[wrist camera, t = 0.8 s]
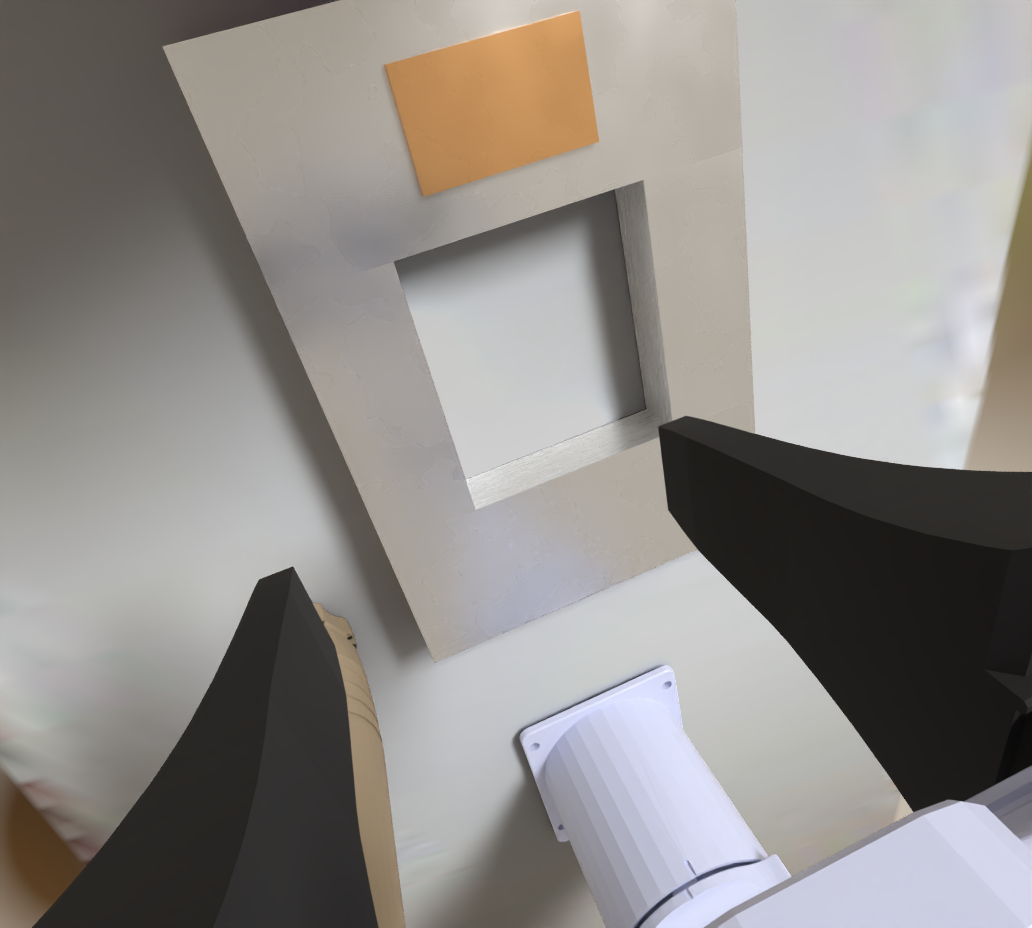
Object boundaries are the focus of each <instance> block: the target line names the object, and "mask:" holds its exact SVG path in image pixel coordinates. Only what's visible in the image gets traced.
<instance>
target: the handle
mask: <svg viewBox="0 0 1032 928" xmlns="http://www.w3.org/2000/svg"><path fill="white" fill-rule="evenodd" d="M313 605H314V607H315V609H316V611H317V613H318V614H319V616H320V618H321V620H322V622H323V624H324V626H325V628H326V629H327V631H328V633H329V635H330V637H331V639H332V641H333V643H334V645H335V647H336V652H337V656H338V660H339V664H340V669H341V673H342V677H343V682H344V687H345V691H346V697H347V707H348V717H349V728H350V738H351V750H352V761H353V772H354V783H355V795H356V806H357V815H358V823H359V830H360V837H361V843H362V848H363V853H364V858H365V863H366V868H367V873H368V878H369V884H370V889H371V894H372V898H373V903H374V908H375V913H376V917H377V922H378V927H379V928H406V926H405V918H404V910H403V903H402V895H401V887H400V879H399V872H398V864H397V856H396V849H395V840H394V832H393V824H392V815H391V807H390V799H389V790H388V782H387V774H386V765H385V757H384V749H383V745H382V740H381V735H380V730H379V725H378V721H377V716H376V712H375V707H374V703H373V699H372V696H371V692H370V688H369V685H368V681H367V677H366V674H365V671H364V668H363V665H362V663H361V660H360V658H359V656H358V654H357V651H356V648H357V644H356V640H355V637H354V634H353V631H352V629H351V627H350V625H349V623H348V621H347V620H346V619H345V618H343V617H337V616H334V615H332V614H330V613H328V612H327V611H325V609H324V608H323V607H322V605H321V604H318V603H313Z"/></svg>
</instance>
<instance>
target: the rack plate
mask: <svg viewBox="0 0 1032 928" xmlns="http://www.w3.org/2000/svg"><path fill="white" fill-rule="evenodd" d="M162 47H163V49H164V52H165V54H166V56H167V58H168V61H169V63H170V65H171V68H172V70H173V72H174V74H175V77H176V79H177V81H178V83H179V86H180V88H181V90H182V92H183V95H184V97H185V99H186V101H187V104H188V106H189V108H190V111H191V113H192V115H193V117H194V120H195V122H196V124H197V126H198V129H199V131H200V133H201V135H202V138H203V140H204V142H205V144H206V147H207V149H208V151H209V154H210V156H211V158H212V160H213V163H214V165H215V167H216V169H217V172H218V174H219V176H220V178H221V181H222V183H223V185H224V187H225V190H226V192H227V194H228V197H229V199H230V201H231V203H232V206H233V208H234V210H235V212H236V215H237V217H238V219H239V221H240V224H241V226H242V228H243V230H244V233H245V235H246V237H247V240H248V242H249V244H250V246H251V249H252V251H253V253H254V255H255V258H256V260H257V262H258V264H259V267H260V269H261V271H262V273H263V276H264V278H265V280H266V283H267V285H268V287H269V289H270V292H271V294H272V296H273V298H274V301H275V303H276V305H277V307H278V310H279V312H280V314H281V316H282V319H283V321H284V323H285V326H286V328H287V330H288V332H289V335H290V337H291V339H292V341H293V344H294V346H295V348H296V350H297V353H298V355H299V357H300V359H301V362H302V364H303V366H304V369H305V371H306V373H307V375H308V378H309V380H310V382H311V384H312V387H313V389H314V391H315V393H316V396H317V398H318V400H319V402H320V405H321V407H322V409H323V412H324V414H325V416H326V418H327V421H328V423H329V425H330V427H331V430H332V432H333V434H334V436H335V439H336V441H337V443H338V445H339V448H340V450H341V452H342V455H343V457H344V459H345V461H346V464H347V466H348V468H349V470H350V473H351V475H352V477H353V479H354V482H355V484H356V486H357V488H358V491H359V493H360V495H361V498H362V500H363V502H364V504H365V507H366V509H367V511H368V513H369V516H370V518H371V520H372V522H373V525H374V527H375V529H376V531H377V534H378V536H379V538H380V541H381V543H382V545H383V547H384V550H385V552H386V554H387V556H388V559H389V561H390V563H391V565H392V568H393V570H394V572H395V574H396V577H397V579H398V581H399V584H400V586H401V588H402V590H403V593H404V595H405V597H406V599H407V602H408V604H409V606H410V608H411V611H412V613H413V615H414V617H415V620H416V622H417V624H418V627H419V629H420V631H421V633H422V636H423V638H424V640H425V642H426V645H427V647H428V649H429V651H430V654H431V656H432V658H433V660H434V663H435V662H438V661H440V660H442V659H445V658H447V657H449V656H451V655H454V654H456V653H458V652H461V651H463V650H465V649H468V648H470V647H472V646H475V645H477V644H479V643H481V642H484V641H486V640H488V639H491V638H493V637H495V636H498V635H500V634H502V633H505V632H507V631H509V630H512V629H514V628H516V627H518V626H521V625H523V624H525V623H528V622H530V621H532V620H535V619H537V618H539V617H542V616H544V615H546V614H549V613H551V612H553V611H555V610H558V609H560V608H562V607H565V606H567V605H569V604H572V603H574V602H576V601H579V600H581V599H583V598H585V597H588V596H590V595H592V594H595V593H597V592H599V591H602V590H604V589H606V588H609V587H611V586H613V585H616V584H618V583H620V582H622V581H625V580H627V579H629V578H632V577H634V576H636V575H639V574H641V573H643V572H646V571H648V570H650V569H653V568H655V567H657V566H659V565H662V564H664V563H666V562H669V561H671V560H673V559H676V558H678V557H680V556H683V555H685V554H687V553H690V552H692V551H694V550H696V549H697V548H696V547H695V546H694V544H693V543H692V542H691V541H690V539H689V538H688V537H687V535H686V534H685V533H684V531H683V530H682V529H681V527H680V526H679V525H678V523H677V522H676V520H675V519H674V518H673V516H672V515H671V513H670V512H669V511H668V505H667V497H666V489H665V481H664V472H663V464H662V456H661V448H660V439H659V431H658V426H660V425H663V424H666V423H668V422H671V421H673V420H676V419H679V418H681V417H684V416H690V417H695V418H699V419H703V420H707V421H711V422H715V423H718V424H722V425H726V426H729V427H733V428H736V429H740V430H743V431H747V432H750V433H754V434H755V421H754V398H753V376H752V353H751V331H750V308H749V286H748V263H747V241H746V218H745V196H744V173H743V151H742V128H741V106H740V83H739V61H738V38H737V16H736V0H339V1H335V2H331V3H328V4H324V5H320V6H316V7H312V8H308V9H305V10H301V11H297V12H293V13H289V14H285V15H281V16H278V17H274V18H270V19H266V20H262V21H258V22H254V23H251V24H247V25H243V26H239V27H235V28H231V29H227V30H224V31H220V32H216V33H212V34H208V35H204V36H200V37H197V38H193V39H189V40H185V41H181V42H177V43H173V44H170V45H166V46H162ZM614 189H615V194H616V201H617V208H618V215H619V222H620V229H621V236H622V243H623V250H624V257H625V264H626V271H627V277H628V284H629V291H630V298H631V305H632V312H633V319H634V326H635V333H636V340H637V347H638V354H639V361H640V368H641V375H642V382H643V389H644V396H645V403H646V410H643V411H641V412H638V413H635V414H633V415H630V416H628V417H625V418H623V419H620V420H617V421H615V422H612V423H610V424H607V425H605V426H602V427H599V428H597V429H594V430H592V431H589V432H587V433H584V434H581V435H579V436H576V437H574V438H571V439H569V440H566V441H563V442H561V443H558V444H556V445H553V446H551V447H548V448H546V449H543V450H540V451H538V452H535V453H533V454H530V455H528V456H525V457H522V458H520V459H517V460H515V461H512V462H510V463H507V464H504V465H502V466H499V467H497V468H494V469H492V470H489V471H486V472H484V473H481V474H479V475H476V476H474V477H471V478H468V479H465V476H464V473H463V470H462V467H461V464H460V461H459V458H458V455H457V452H456V449H455V446H454V443H453V440H452V437H451V434H450V431H449V428H448V425H447V422H446V419H445V416H444V413H443V410H442V407H441V404H440V400H439V397H438V394H437V391H436V388H435V385H434V382H433V379H432V376H431V373H430V370H429V367H428V364H427V361H426V358H425V355H424V352H423V349H422V346H421V343H420V340H419V337H418V334H417V331H416V328H415V325H414V322H413V319H412V316H411V313H410V310H409V307H408V304H407V301H406V298H405V295H404V292H403V289H402V286H401V283H400V280H399V277H398V274H397V271H396V268H395V265H394V261H397V260H400V259H403V258H406V257H409V256H412V255H415V254H419V253H422V252H425V251H428V250H431V249H434V248H437V247H440V246H443V245H446V244H449V243H452V242H455V241H458V240H461V239H464V238H467V237H470V236H473V235H476V234H479V233H483V232H486V231H489V230H492V229H495V228H498V227H501V226H504V225H507V224H510V223H513V222H516V221H519V220H522V219H525V218H528V217H531V216H534V215H537V214H540V213H543V212H547V211H550V210H553V209H556V208H559V207H562V206H565V205H568V204H571V203H574V202H577V201H580V200H583V199H586V198H589V197H592V196H595V195H598V194H601V193H604V192H607V191H611V190H614Z"/></svg>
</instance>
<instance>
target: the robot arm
mask: <svg viewBox="0 0 1032 928" xmlns="http://www.w3.org/2000/svg"><path fill="white" fill-rule="evenodd" d="M658 431H659V439H660V448H661V456H662V464H663V472H664V481H665V489H666V497H667V505H668V511H669V512H670V513H671V515H672V516H673V518H674V519H675V520H676V522H677V523H678V525H679V526H680V527H681V529H682V530H683V531H684V533H685V534H686V535H687V537H688V538H689V539H690V541H691V542H692V543H693V544H694V546H695V547H696V548H697V549H698V550H699V551H700V552H701V553H702V554H703V556H704V557H705V558H706V559H707V560H708V561H709V562H710V563H711V564H712V565H713V566H714V567H715V568H716V569H717V570H718V571H719V572H720V573H721V574H722V575H723V576H724V577H725V578H726V579H727V580H728V581H729V582H730V583H731V584H732V585H733V586H734V587H735V588H736V589H737V590H738V591H739V592H740V593H741V594H742V595H743V596H744V597H745V598H746V599H747V600H748V601H749V602H750V603H751V604H752V605H753V606H754V607H755V608H756V609H757V610H758V611H759V612H760V613H761V614H762V615H763V616H764V617H765V618H766V619H767V620H768V621H769V622H770V623H771V624H772V625H773V626H774V627H775V628H776V630H777V631H778V632H779V633H780V634H781V635H782V636H783V637H784V638H785V639H786V640H787V642H788V643H789V644H790V645H791V647H792V648H793V649H794V650H795V652H796V653H797V654H798V655H799V657H800V658H801V659H802V660H803V661H804V663H805V664H806V665H807V666H808V668H809V669H810V670H811V671H812V673H813V674H814V675H815V676H816V678H817V679H818V680H819V681H820V683H821V684H822V685H823V687H824V688H825V689H826V691H827V692H828V693H829V695H830V696H831V697H832V699H833V700H834V701H835V702H836V704H837V705H838V706H839V708H840V709H841V710H842V712H843V713H844V714H845V716H846V717H847V718H848V720H849V721H850V722H851V723H852V725H853V726H854V728H855V729H856V730H857V732H858V733H859V735H860V736H861V737H862V739H863V740H864V742H865V743H866V744H867V746H868V747H869V749H870V750H871V751H872V753H873V754H874V756H875V757H876V758H877V760H878V761H879V763H880V764H881V765H882V767H883V768H884V769H885V771H886V772H887V774H888V775H889V777H890V778H891V779H892V781H893V782H894V784H895V785H896V787H897V788H898V790H899V791H900V793H901V794H902V796H903V797H904V799H905V800H906V802H907V803H908V805H909V806H910V808H911V809H912V811H913V813H911V814H910V815H908V816H906V817H904V818H902V819H900V820H898V821H896V822H894V823H892V824H890V825H889V826H887V827H885V828H883V829H881V830H879V831H877V832H875V833H873V834H872V835H870V836H868V837H866V838H864V839H862V840H860V841H858V842H856V843H855V844H853V845H851V846H849V847H847V848H845V849H843V850H841V851H839V852H838V853H836V854H834V855H832V856H830V857H828V858H826V859H824V860H822V861H820V862H819V863H817V864H815V865H813V866H811V867H809V868H807V869H805V870H802V871H800V872H799V873H797V874H795V875H794V876H791V875H790V873H789V872H788V870H787V869H786V868H785V866H784V865H783V863H782V862H781V860H780V859H779V857H778V856H777V855H776V854H773V855H771V856H770V857H768V855H767V854H766V852H765V851H764V849H763V848H762V846H761V845H760V843H759V842H758V840H757V839H756V837H755V836H754V834H753V833H752V831H751V830H750V828H749V827H748V826H747V824H746V823H745V821H744V820H743V818H742V817H741V815H740V814H739V812H738V811H737V809H736V808H735V806H734V805H733V803H732V802H731V800H730V799H729V797H728V796H727V794H726V793H725V791H724V790H723V788H722V787H721V785H720V784H719V783H718V781H717V780H716V778H715V777H714V775H713V774H712V772H711V771H710V769H709V768H708V766H707V765H706V763H705V762H704V760H703V759H702V757H701V756H700V754H699V753H698V751H697V750H696V748H695V747H694V745H693V744H692V742H691V741H690V740H689V738H688V737H687V735H686V734H685V732H684V731H683V724H682V718H681V712H680V705H679V699H678V692H677V686H676V679H675V673H674V671H673V670H672V669H671V667H669V666H661V667H659V668H657V669H654V670H652V671H650V672H648V673H646V674H644V675H641V676H639V677H637V678H635V679H633V680H631V681H628V682H626V683H624V684H622V685H620V686H618V687H615V688H613V689H611V690H609V691H607V692H604V693H602V694H600V695H598V696H596V697H594V698H591V699H589V700H587V701H585V702H583V703H581V704H578V705H576V706H574V707H572V708H570V709H568V710H565V711H563V712H561V713H559V714H557V715H554V716H552V717H550V718H548V719H546V720H544V721H541V722H539V723H537V724H535V725H533V726H531V727H528V728H526V729H525V730H523V732H522V733H521V734H520V741H521V744H522V747H523V749H524V752H525V755H526V757H527V760H528V763H529V765H530V768H531V771H532V774H533V776H534V779H535V782H536V784H537V787H538V790H539V792H540V795H541V798H542V800H543V803H544V806H545V808H546V811H547V814H548V816H549V819H550V822H551V824H552V827H553V830H554V832H555V835H556V837H557V840H558V841H559V842H566V841H570V843H571V846H572V848H573V851H574V853H575V855H576V858H577V860H578V862H579V865H580V867H581V870H582V872H583V874H584V877H585V879H586V881H587V884H588V886H589V889H590V891H591V893H592V896H593V898H594V900H595V903H596V905H597V908H598V910H599V912H600V915H601V917H602V919H603V922H604V924H605V927H606V928H1032V472H996V471H972V470H957V469H944V468H931V467H921V466H911V465H902V464H895V463H888V462H882V461H875V460H868V459H861V458H856V457H850V456H845V455H840V454H835V453H831V452H826V451H821V450H817V449H812V448H808V447H804V446H800V445H795V444H791V443H787V442H784V441H780V440H776V439H772V438H769V437H765V436H761V435H758V434H754V433H750V432H747V431H743V430H740V429H736V428H733V427H729V426H726V425H722V424H718V423H715V422H711V421H707V420H703V419H699V418H695V417H690V416H684V417H681V418H679V419H676V420H673V421H671V422H668V423H666V424H663V425H660V426H658ZM32 928H379V927H378V922H377V917H376V913H375V908H374V903H373V898H372V894H371V889H370V884H369V878H368V873H367V868H366V863H365V858H364V853H363V848H362V843H361V837H360V830H359V823H358V815H357V806H356V795H355V783H354V772H353V761H352V750H351V738H350V728H349V717H348V707H347V697H346V691H345V687H344V682H343V677H342V673H341V669H340V664H339V660H338V656H337V652H336V647H335V645H334V643H333V641H332V639H331V637H330V635H329V633H328V631H327V629H326V628H325V626H324V624H323V622H322V620H321V618H320V616H319V614H318V613H317V611H316V609H315V607H314V605H313V603H312V601H311V599H310V597H309V596H308V594H307V592H306V590H305V588H304V586H303V584H302V582H301V580H300V579H299V577H298V575H297V573H296V571H295V569H294V567H290V568H288V569H285V570H283V571H280V572H277V573H275V574H272V575H270V576H267V577H264V578H262V579H259V581H258V583H257V585H256V587H255V589H254V591H253V593H252V595H251V598H250V600H249V602H248V605H247V607H246V609H245V611H244V614H243V616H242V618H241V621H240V623H239V625H238V628H237V630H236V632H235V634H234V637H233V639H232V641H231V643H230V645H229V647H228V649H227V652H226V654H225V656H224V658H223V660H222V662H221V664H220V666H219V668H218V671H217V673H216V675H215V677H214V679H213V681H212V683H211V685H210V686H209V688H208V690H207V692H206V694H205V696H204V698H203V699H202V701H201V703H200V705H199V707H198V709H197V711H196V712H195V714H194V716H193V718H192V720H191V722H190V723H189V725H188V727H187V728H186V730H185V732H184V733H183V735H182V737H181V738H180V740H179V741H178V743H177V745H176V746H175V748H174V749H173V751H172V752H171V754H170V755H169V757H168V758H167V760H166V761H165V763H164V764H163V766H162V767H161V769H160V770H159V772H158V773H157V775H156V776H155V778H154V779H153V781H152V782H151V783H150V785H149V786H148V788H147V789H146V790H145V792H144V793H143V794H142V796H141V797H140V798H139V800H138V801H137V802H136V804H135V805H134V806H133V808H132V809H131V810H130V812H129V813H128V814H127V815H126V817H125V818H124V819H123V821H122V822H121V823H120V825H119V826H118V827H117V829H116V830H115V831H114V833H113V834H112V835H111V837H110V838H109V839H108V841H107V842H106V843H105V844H104V846H103V847H102V848H101V849H100V850H99V852H98V853H97V854H96V855H95V856H94V858H93V859H92V860H91V861H90V862H89V864H88V865H87V866H86V867H85V868H84V870H83V871H82V872H81V873H80V874H79V876H78V877H77V878H76V879H75V880H74V881H73V882H72V884H71V885H70V886H69V887H68V888H67V889H66V890H65V892H64V893H63V894H62V895H61V896H60V897H59V898H58V899H57V901H56V902H55V903H54V904H53V905H52V906H51V907H50V909H49V910H48V911H47V912H46V913H45V914H44V915H43V916H42V917H41V918H40V919H39V921H38V922H37V923H36V924H35V925H34V926H33V927H32Z"/></svg>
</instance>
